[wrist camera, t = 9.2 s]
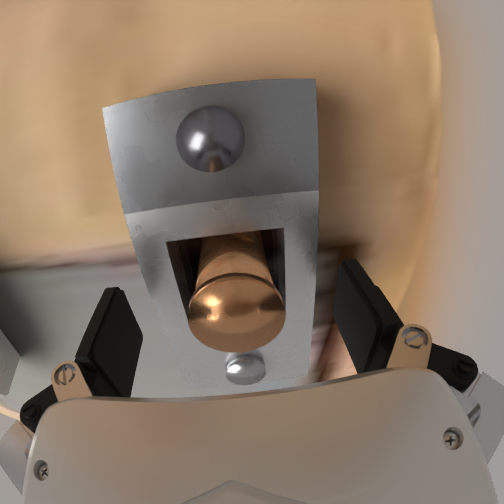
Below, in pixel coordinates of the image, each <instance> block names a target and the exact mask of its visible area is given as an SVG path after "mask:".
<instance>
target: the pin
mask: <svg viewBox="0 0 504 504" xmlns="http://www.w3.org/2000/svg"><path fill="white" fill-rule="evenodd" d="M285 319H286V313H285V308H284V304H283V301H282V297H281V295H280V293H279V291H278V290H277V289H276V287H275V286H274V285H273V282H272V278H271V274H270V270H269V266H268V262H267V258H266V254H265V251H264V247H263V243H262V239H261V235H260V232H259V230H256V231H248V232H239V233H231V234H223V235H214V236H206V237H202V244H201V251H200V259H199V267H198V275H197V284H196V291H195V292H194V293H193V295H192V297H191V300H190V303H189V310H188V325H189V328H190V330H191V332H192V334H193V335H194V336H195V337H196V339H198V340H199V341H200V342H201V343H203V344H204V345H206V346H208V347H210V348H212V349H215V350H218V351H223V352H230V353H239V352H247V351H252V350H255V349H258V348H260V347H263V346H265V345H266V344H268V343H269V342H271V341H272V340H273V339H275V338H276V337H277V336H278V334H279V333H280V332H281V330H282V328H283V326H284V323H285Z"/></svg>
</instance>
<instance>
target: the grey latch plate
mask: <svg viewBox="0 0 504 504" xmlns="http://www.w3.org/2000/svg"><path fill="white" fill-rule="evenodd" d="M102 109H103V116H104V122H105V128H106V134H107V140H108V145H109V151H110V156H111V161H112V165H113V170H114V175H115V179H116V183H117V188H118V192H119V196H120V200H121V204H122V208H123V211H124V215H125V219H126V222H127V226H128V229H129V233H130V236H131V240H132V243H133V246H134V249H135V253H136V256H137V259H138V262H139V265H140V268H141V271H142V274H143V277H144V280H145V283H146V286H147V288H148V291H149V294H150V297H151V299H152V302H153V305H154V307H155V310H156V313H157V315H158V318H159V320H160V323H161V325H162V328H163V330H164V333H165V335H166V338H167V340H168V342H169V345H170V347H171V349H172V352H173V354H174V356H175V358H176V361H177V363H178V365H179V367H180V369H181V372H182V374H183V376H184V378H185V380H186V382H187V384H188V386H189V388H204V387H218V386H230V385H250V384H254V383H258V382H266V381H273V380H280V379H287V378H293V377H299V376H304V375H308V367H309V358H310V349H311V339H312V328H313V316H314V303H315V289H316V272H317V251H318V220H319V147H318V117H317V97H316V81H315V79H270V80H252V81H239V82H229V83H220V84H212V85H204V86H197V87H191V88H185V89H179V90H174V91H169V92H164V93H159V94H154V95H150V96H146V97H141V98H137V99H133V100H130V101H126V102H122V103H119V104H115V105H112V106H108V107H105V108H102ZM265 229H272V244H273V263H274V272H270V274H271V278H272V282H273V285H274V286H275V287H276V289H277V290H278V291H279V293H280V295H281V297H282V301H283V304H284V308H285V313H286V319H285V323H284V326H283V328H282V330H281V332H280V333H279V334H278V336H277V337H276V338H275V339H273V340H272V341H271V342H269V343H268V344H266V345H265V346H263V347H260V348H258V349H255V350H252V351H247V352H239V353H230V352H223V351H218V350H215V349H212V348H210V347H208V346H206V345H204V344H203V343H201V342H200V341H199V340H198V339H196V337H195V336H194V335H193V334H192V332H191V330H190V328H189V325H188V310H189V303H190V300H191V297H192V295H193V293H194V292H195V291H196V284H197V281H195V280H194V276H193V272H192V267H191V263H190V259H189V254H188V250H187V245H186V241H185V239H190V238H198V237H206V236H214V235H223V234H231V233H239V232H248V231H256V230H265Z"/></svg>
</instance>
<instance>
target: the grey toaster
mask: <svg viewBox="0 0 504 504" xmlns="http://www.w3.org/2000/svg"><path fill="white" fill-rule="evenodd" d="M19 359H20V355H19V354H18V352H17V351H16V350H15V349H14V347H13V346H12V345H11V343H10V342H9V340H8V339H7V338H6V336H5V335H4V334H3V332H2V331H1V329H0V399H1V398H3V397H5V396H6V395H7V394H8V393H9V390H10V386H11V383H12V380H13V377H14V373H15V370H16V368H17V365H18V362H19Z"/></svg>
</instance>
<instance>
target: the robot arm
mask: <svg viewBox="0 0 504 504" xmlns="http://www.w3.org/2000/svg"><path fill="white" fill-rule="evenodd" d="M333 316H334V319H335V322H336V324H337V326H338V328H339V331H340V333H341V335H342V338H343V340H344V342H345V345H346V347H347V349H348V352H349V354H350V356H351V359H352V361H353V363H354V366H355V368H356V371H357V373H358V374H356V375H352V376H347V377H343V378H338V379H333V380H328V381H323V382H318V383H313V384H307V385H302V386H296V387H290V388H283V389H276V390H269V391H261V392H253V393H244V394H234V395H222V396H207V397H185V398H131V397H130V396H131V391H132V386H133V381H134V376H135V371H136V367H137V362H138V358H139V354H140V349H141V345H142V341H143V335H142V332H141V330H140V327H139V325H138V323H137V321H136V319H135V316H134V314H133V312H132V310H131V307H130V305H129V303H128V300H127V298H126V296H125V293H124V291H123V290H120V288H119V287H112V288H106V289H105V291H104V293H103V295H102V297H101V299H100V301H99V303H98V305H97V307H96V309H95V311H94V314H93V316H92V318H91V320H90V322H89V325H88V327H87V329H86V331H85V334H84V336H83V338H82V341H81V343H80V346H79V348H78V351H77V353H76V356H75V357H76V359H75V361H74V362H73V361H64V362H62V363H60V364H59V365H57V366H56V368H55V369H54V370H53V372H52V375H51V382H52V384H51V385H50V386H48V387H47V388H46V389H44V390H43V391H41V392H40V393H38V394H37V395H35V396H34V397H33V398H31V399H30V400H28V401H27V402H26V403H25V404H24V405H23V406H22V408H21V411H20V422H19V421H18V420H16V421H15V423H14V424H13V425H12V426H11V428H10V429H9V430H8V431H7V433H6V434H5V435H4V436H3V437H2V439H1V440H0V465H1V466H2V468H3V469H4V471H5V472H6V474H7V475H8V477H9V478H10V479H11V481H12V482H13V484H14V485H15V486H16V488H17V489H18V490H19V492H20V493H21V494H22V504H498V501H497V496H496V492H495V488H494V485H493V482H492V478H491V475H490V472H489V469H488V465H487V464H488V463H489V461H490V459H491V457H492V456H493V454H494V452H495V450H496V448H497V446H498V444H499V442H500V440H501V438H502V436H503V434H504V386H503V385H501V384H500V383H498V382H497V381H496V380H494V379H492V378H491V377H490V376H489V375H487V374H486V373H484V372H482V374H480V373H479V372H478V368H477V364H476V363H475V361H474V360H473V359H472V358H471V357H469V356H466V355H464V354H461V353H459V352H456V351H453V350H450V349H447V348H444V347H442V346H439V345H436V344H433V343H432V337H431V334H430V333H429V331H428V330H427V329H425V328H424V327H422V326H420V325H417V324H408V325H405V326H404V324H403V323H402V321H401V320H400V318H399V317H398V315H397V313H396V312H395V310H394V309H393V307H392V306H391V304H390V303H389V301H388V300H387V299H386V297H385V296H384V294H383V293H382V291H381V290H380V288H379V287H378V286H375V285H374V283H373V282H372V280H371V279H370V278H369V276H368V275H367V273H366V272H365V271H364V269H363V268H362V266H361V265H360V264H359V262H358V261H357V260H356V259H351V260H344V261H343V262H342V264H340V265H339V266H338V274H337V284H336V292H335V300H334V308H333Z"/></svg>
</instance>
